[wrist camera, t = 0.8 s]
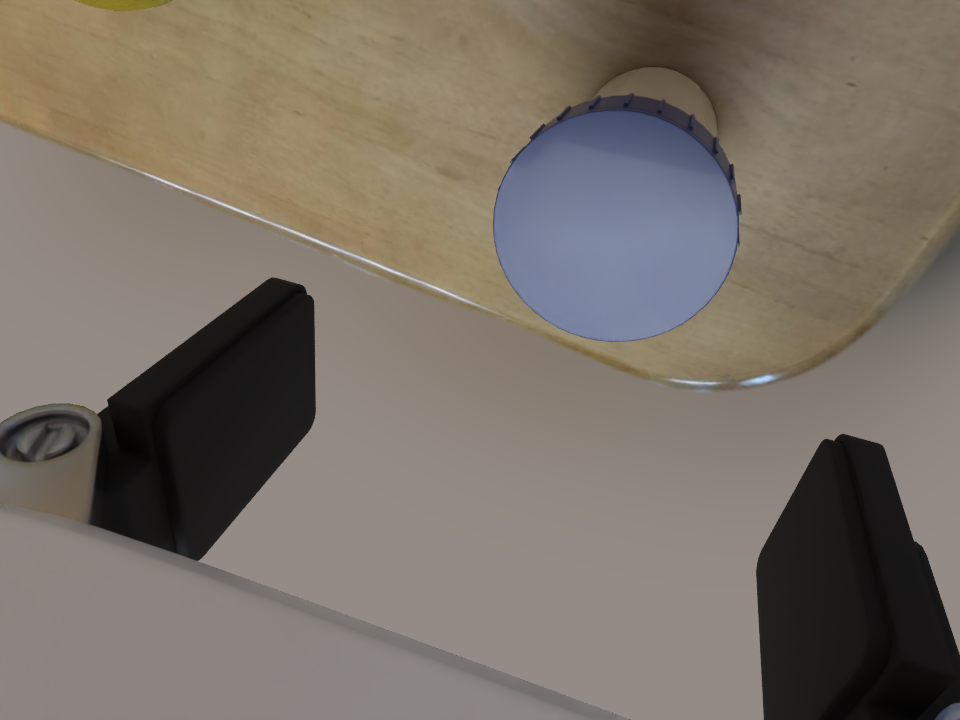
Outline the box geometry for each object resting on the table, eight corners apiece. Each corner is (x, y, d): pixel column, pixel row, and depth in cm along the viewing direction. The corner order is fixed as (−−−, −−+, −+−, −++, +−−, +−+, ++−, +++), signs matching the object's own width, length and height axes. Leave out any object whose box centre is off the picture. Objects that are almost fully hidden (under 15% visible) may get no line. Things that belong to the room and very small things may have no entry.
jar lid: (777, 120, 18) (782, 138, 16) (697, 337, 22) (694, 369, 20) (528, 70, 19) (510, 83, 17) (494, 284, 23) (477, 310, 21)
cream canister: (737, 81, 26) (745, 155, 17) (693, 218, 29) (680, 339, 20) (595, 54, 27) (533, 110, 18) (567, 189, 30) (502, 292, 21)
